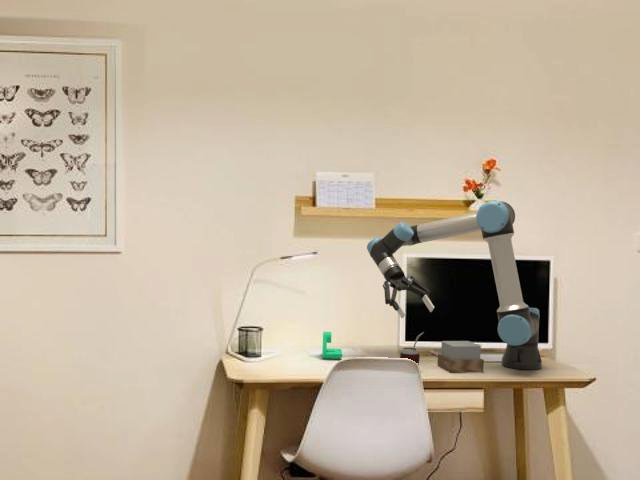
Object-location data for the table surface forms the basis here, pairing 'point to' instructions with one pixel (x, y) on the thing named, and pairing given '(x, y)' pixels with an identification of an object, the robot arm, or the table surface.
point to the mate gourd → (411, 352)
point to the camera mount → (328, 351)
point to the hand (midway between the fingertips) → (418, 312)
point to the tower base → (460, 365)
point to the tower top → (461, 350)
